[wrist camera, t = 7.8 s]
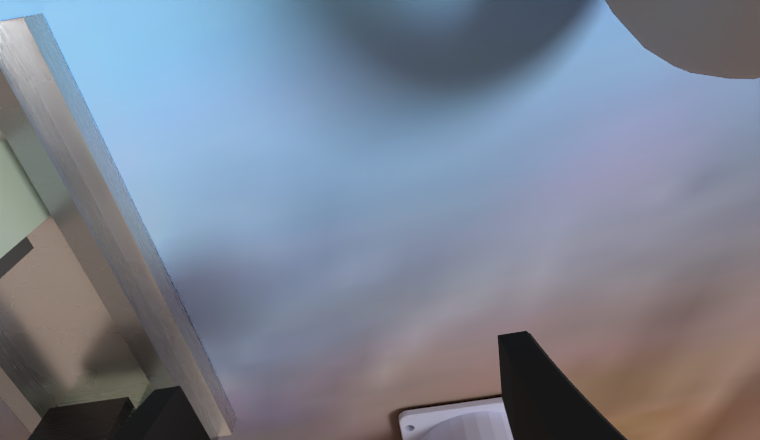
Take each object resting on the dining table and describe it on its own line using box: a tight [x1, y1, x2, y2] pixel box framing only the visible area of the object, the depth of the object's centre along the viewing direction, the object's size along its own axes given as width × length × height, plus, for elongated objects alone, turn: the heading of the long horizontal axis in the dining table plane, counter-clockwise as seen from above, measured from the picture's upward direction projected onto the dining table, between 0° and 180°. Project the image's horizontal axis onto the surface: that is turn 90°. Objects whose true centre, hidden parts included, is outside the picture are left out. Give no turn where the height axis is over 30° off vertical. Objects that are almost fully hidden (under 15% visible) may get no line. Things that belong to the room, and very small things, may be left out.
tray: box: [0, 14, 236, 440], centre depth 17 cm, size 20×9×7 cm, turn 9°
